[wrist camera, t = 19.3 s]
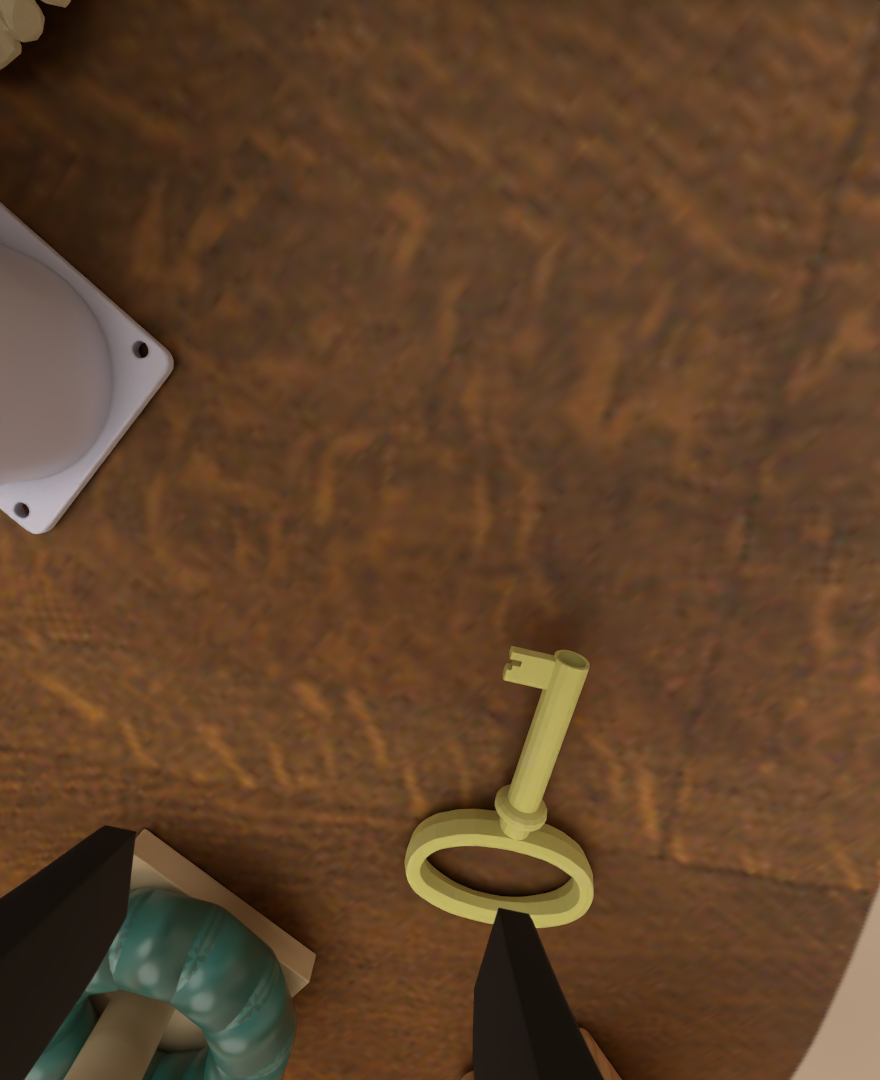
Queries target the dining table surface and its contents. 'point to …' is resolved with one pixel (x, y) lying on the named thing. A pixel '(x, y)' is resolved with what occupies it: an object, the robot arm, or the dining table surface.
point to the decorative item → (602, 1062)
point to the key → (516, 809)
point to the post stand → (149, 1024)
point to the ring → (190, 991)
